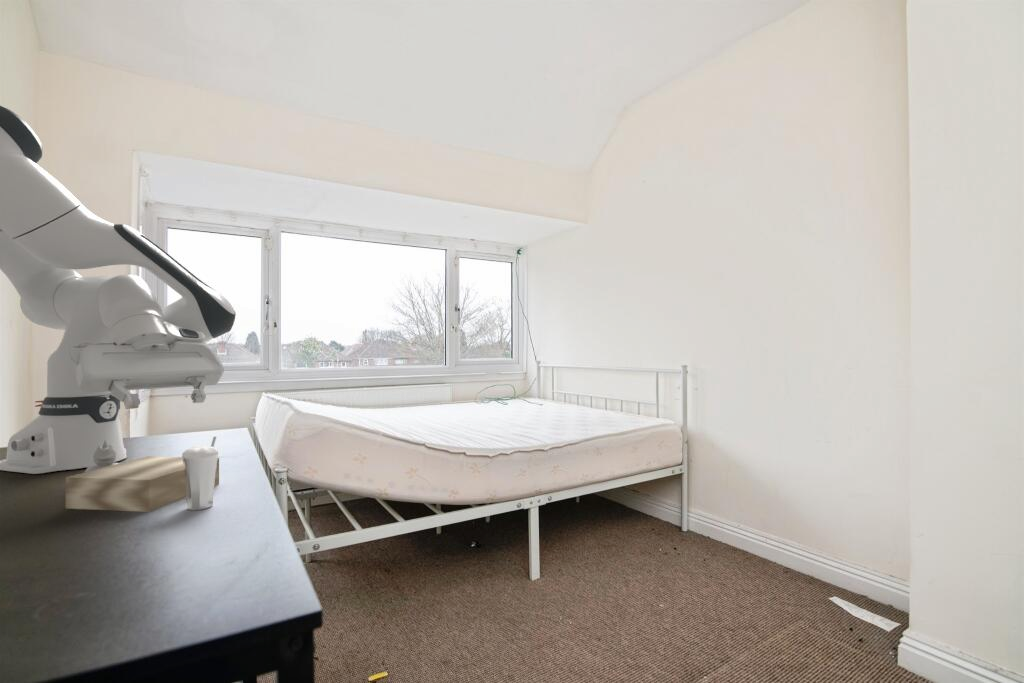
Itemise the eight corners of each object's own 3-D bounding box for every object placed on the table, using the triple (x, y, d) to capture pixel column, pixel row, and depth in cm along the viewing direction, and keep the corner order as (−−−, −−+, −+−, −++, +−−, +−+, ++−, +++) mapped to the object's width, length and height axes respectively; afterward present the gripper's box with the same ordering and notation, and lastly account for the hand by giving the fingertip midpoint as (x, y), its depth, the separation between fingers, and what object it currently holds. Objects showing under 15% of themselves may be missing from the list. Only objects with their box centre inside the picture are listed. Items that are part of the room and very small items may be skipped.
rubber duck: (83, 492, 80) (83, 444, 80) (84, 483, 85) (85, 438, 85) (125, 485, 83) (125, 439, 84) (124, 478, 88) (124, 434, 89)
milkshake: (228, 500, 75) (228, 436, 75) (203, 512, 70) (203, 443, 70) (201, 500, 75) (201, 436, 75) (174, 511, 70) (174, 443, 70)
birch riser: (65, 510, 72) (65, 477, 72) (147, 484, 86) (147, 456, 86) (149, 514, 70) (149, 479, 70) (219, 486, 84) (219, 458, 84)
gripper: (70, 329, 74) (91, 395, 69) (212, 332, 91) (238, 385, 86) (61, 357, 77) (81, 424, 71) (201, 355, 94) (226, 409, 88)
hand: (168, 403), depth 78 cm, fingers open, 8 cm apart
